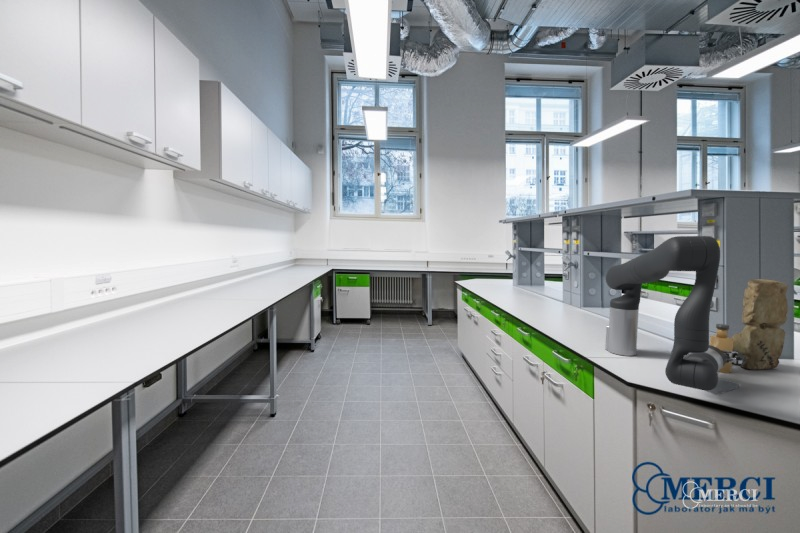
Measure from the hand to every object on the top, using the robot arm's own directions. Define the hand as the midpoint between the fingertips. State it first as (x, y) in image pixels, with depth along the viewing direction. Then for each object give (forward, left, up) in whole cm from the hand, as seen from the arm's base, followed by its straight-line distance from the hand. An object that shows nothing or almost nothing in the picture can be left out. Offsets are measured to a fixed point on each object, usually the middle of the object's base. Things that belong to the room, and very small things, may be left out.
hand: (717, 349), depth 112 cm
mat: (+3, -12, -8) cm, 15 cm away
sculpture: (+1, +20, -8) cm, 21 cm away
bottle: (-2, +6, -8) cm, 10 cm away
